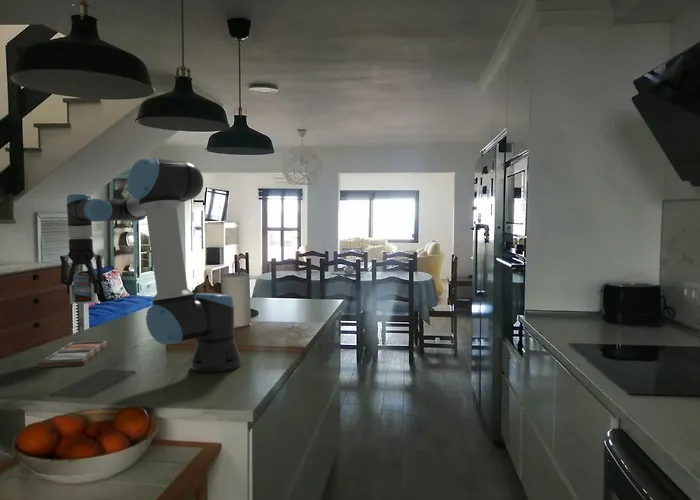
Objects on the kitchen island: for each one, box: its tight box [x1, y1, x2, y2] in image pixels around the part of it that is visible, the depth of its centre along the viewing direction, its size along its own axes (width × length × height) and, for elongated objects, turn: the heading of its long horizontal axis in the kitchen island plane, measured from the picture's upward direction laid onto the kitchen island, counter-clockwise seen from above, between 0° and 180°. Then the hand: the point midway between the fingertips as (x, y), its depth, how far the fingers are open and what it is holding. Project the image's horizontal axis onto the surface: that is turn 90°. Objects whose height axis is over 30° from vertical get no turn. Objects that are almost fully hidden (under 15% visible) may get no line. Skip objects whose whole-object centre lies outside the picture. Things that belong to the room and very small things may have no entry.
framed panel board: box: [37, 340, 110, 368], centre depth 184 cm, size 26×14×2 cm, turn 7°
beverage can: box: [72, 270, 93, 305], centre depth 188 cm, size 6×7×12 cm
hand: (83, 302), depth 189 cm, fingers closed on beverage can, 6 cm apart
